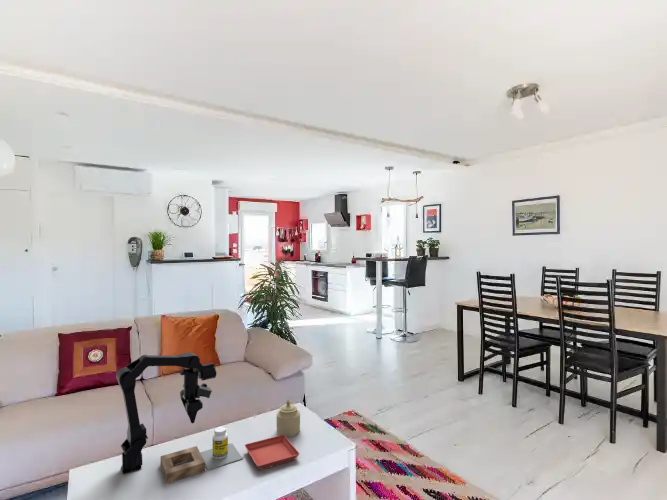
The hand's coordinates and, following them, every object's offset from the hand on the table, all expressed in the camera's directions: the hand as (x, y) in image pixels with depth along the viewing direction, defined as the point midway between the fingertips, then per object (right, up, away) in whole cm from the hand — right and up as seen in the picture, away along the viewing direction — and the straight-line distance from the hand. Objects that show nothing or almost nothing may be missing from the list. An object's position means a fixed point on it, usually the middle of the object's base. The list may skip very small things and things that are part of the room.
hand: (190, 418), depth 165 cm
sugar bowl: (+40, -12, +16) cm, 44 cm away
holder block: (+2, -13, -15) cm, 20 cm away
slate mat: (+15, -13, -7) cm, 21 cm away
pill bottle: (+15, -13, -7) cm, 20 cm away
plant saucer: (+36, -13, -6) cm, 39 cm away
